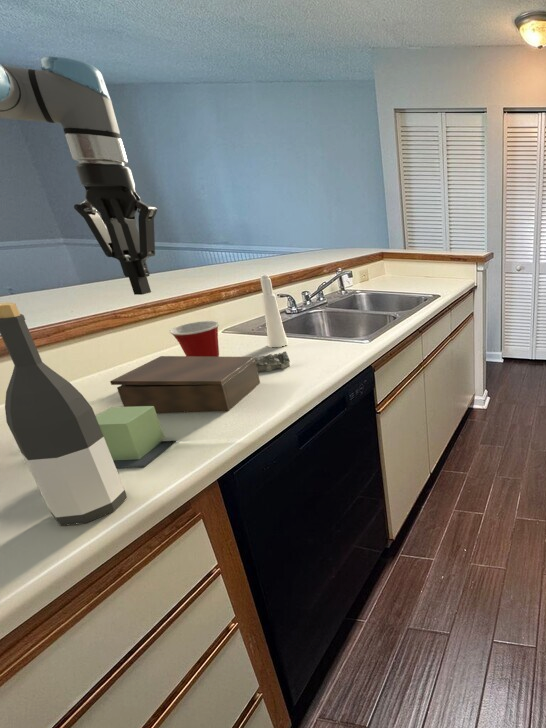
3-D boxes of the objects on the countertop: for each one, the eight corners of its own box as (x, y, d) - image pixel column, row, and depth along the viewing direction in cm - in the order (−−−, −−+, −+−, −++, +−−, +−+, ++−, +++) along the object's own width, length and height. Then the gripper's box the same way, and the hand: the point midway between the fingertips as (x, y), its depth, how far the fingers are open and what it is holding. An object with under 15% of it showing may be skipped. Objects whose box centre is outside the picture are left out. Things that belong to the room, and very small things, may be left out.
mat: (72, 470, 70) (71, 468, 70) (120, 437, 80) (120, 435, 80) (144, 467, 71) (143, 465, 71) (183, 435, 81) (182, 433, 81)
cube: (94, 461, 72) (79, 425, 69) (124, 440, 78) (111, 407, 76) (139, 459, 73) (126, 423, 70) (165, 439, 79) (154, 405, 77)
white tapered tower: (291, 345, 135) (278, 275, 127) (270, 349, 132) (256, 277, 123) (285, 341, 139) (272, 273, 131) (265, 344, 136) (250, 274, 127)
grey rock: (246, 377, 109) (242, 363, 108) (246, 368, 115) (243, 354, 114) (291, 371, 114) (289, 356, 113) (289, 362, 120) (287, 349, 119)
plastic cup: (177, 368, 115) (164, 325, 110) (222, 359, 122) (212, 318, 117) (187, 378, 108) (173, 333, 103) (234, 368, 115) (224, 325, 111)
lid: (111, 384, 85) (109, 381, 84) (161, 359, 99) (160, 356, 99) (221, 384, 87) (220, 381, 87) (255, 359, 102) (254, 356, 101)
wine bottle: (84, 530, 57) (-16, 313, 46) (36, 522, 59) (-73, 309, 47) (142, 494, 65) (68, 299, 53) (98, 487, 66) (17, 296, 55)
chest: (127, 418, 88) (116, 387, 85) (174, 388, 102) (166, 361, 99) (229, 414, 90) (221, 385, 87) (261, 386, 104) (255, 360, 102)
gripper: (155, 167, 81) (188, 290, 90) (79, 164, 80) (121, 290, 89) (127, 163, 74) (165, 296, 83) (44, 160, 73) (93, 296, 82)
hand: (142, 293), depth 86 cm, fingers closed
